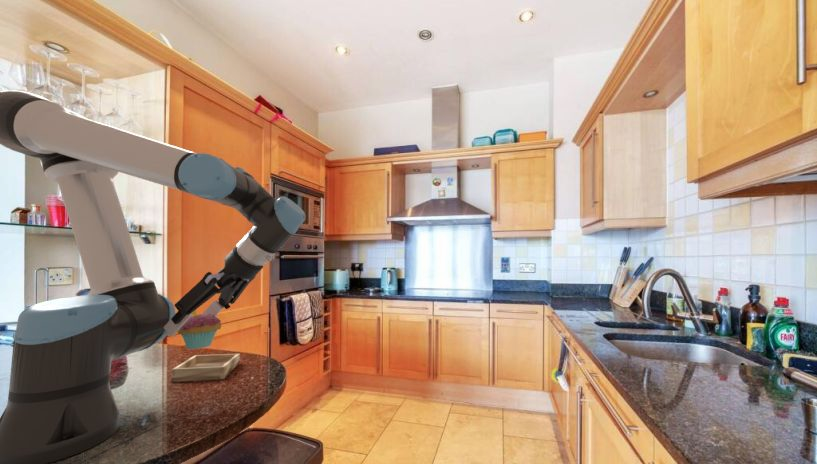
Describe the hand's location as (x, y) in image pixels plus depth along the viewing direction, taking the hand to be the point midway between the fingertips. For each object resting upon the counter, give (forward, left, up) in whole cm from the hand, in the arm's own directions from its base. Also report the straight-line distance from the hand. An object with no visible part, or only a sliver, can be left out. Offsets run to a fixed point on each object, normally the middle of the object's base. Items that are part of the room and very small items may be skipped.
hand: (186, 327), depth 74 cm
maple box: (+14, 0, -15) cm, 20 cm away
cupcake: (-1, -3, -4) cm, 6 cm away
